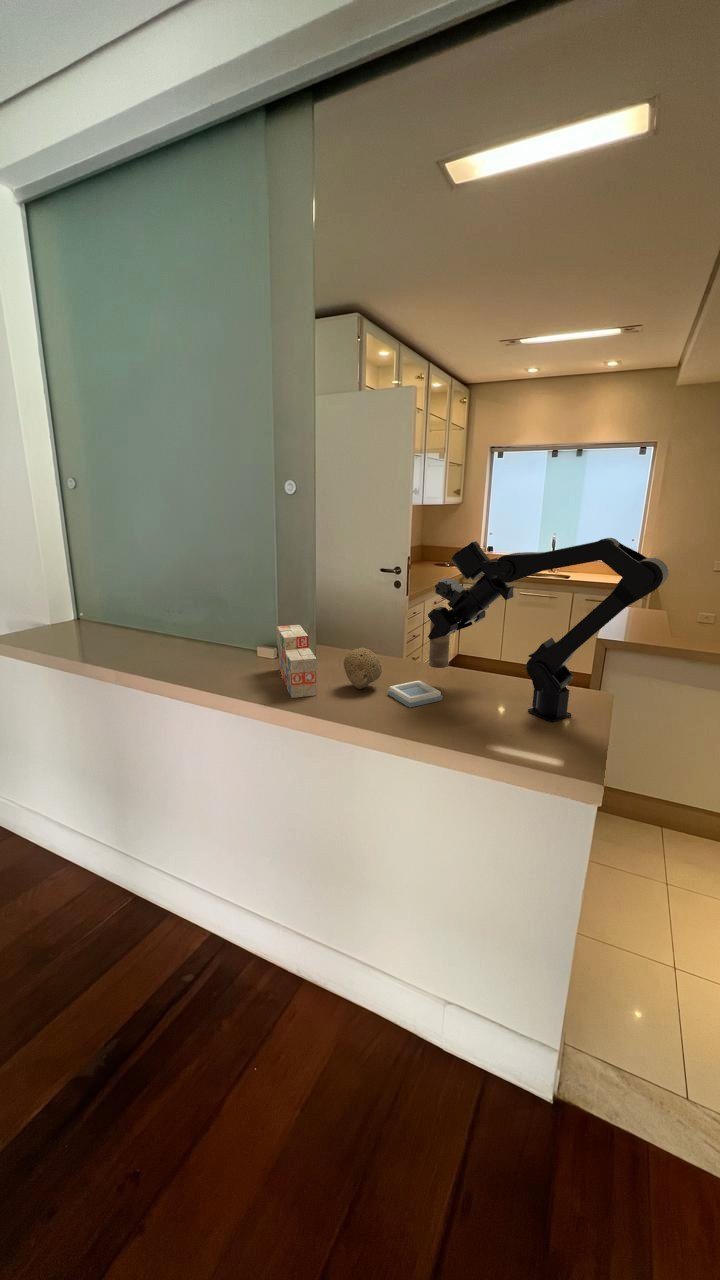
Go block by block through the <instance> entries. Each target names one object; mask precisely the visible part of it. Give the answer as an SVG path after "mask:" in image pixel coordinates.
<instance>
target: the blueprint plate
mask: <svg viewBox="0 0 720 1280" xmlns="http://www.w3.org/2000/svg"><path fill="white" fill-rule="evenodd" d="M441 693H442V692H441V691H440V690H439V689H437V688H435V687H433V686H431V685H429V684H427V683H425V682H424V681H421V680H415V681H409V682H405V683H401V684H395V685H391V686H389V689H388V690H387V696H390V697H392V698H393V699H395V700H396V701H398V702H400V703H402V704H403V705H405V706H406V707H408V708H414V707H418V706H423V705H427V704H432V703H435V702H436V703H437V702H439V701H442V700H443V695H441Z"/></svg>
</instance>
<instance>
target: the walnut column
mask: <svg viewBox="0 0 720 1280" xmlns="http://www.w3.org/2000/svg"><path fill="white" fill-rule="evenodd" d="M429 627H430V628H429V633H430V632H431V630H432V628H433V627H434V624H433V622H432V621H431V620H430V626H429ZM450 635H451V634H450ZM450 635H447V636H442V637H439V638H436V639H432V640H430V639H429V652H428V653H429V655H428V656H429V657H428V658H429V659H428V665H429V666H430V667H431V668H435V669H443V668H444V669H445V668H447V667H449V659H450V658H449V655H450V654H449V652H450V637H451V636H450Z"/></svg>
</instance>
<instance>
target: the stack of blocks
mask: <svg viewBox="0 0 720 1280" xmlns="http://www.w3.org/2000/svg"><path fill="white" fill-rule="evenodd" d="M276 640H277V641H276V642H277V652H278V653H277V654H278V655H277V657H278V658H277V659H278V670H279V669H280V671H281V674H280V676H281V675H282V676H281V679H282V678H283V679H284V681H285V682H284V681H283V682H284V685H285V686H287V687H286V690H287V693H288V694H289V696H290V698H291V699H294V698H303V697H313V696H317V692H318V691H317V690H318V689H317V681H318V680H317V678H318V677H317V670H318V667H317V665H318V663H317V657H316V655H315V654H314V652H313V651H312V650H311V649H310V644H309V642H310V641H309V635H308V634H307V632H305V630H304V628H303V627H302V626H301V624H292V625H291V624H290V625H278V626H276ZM280 671H279V672H280ZM283 679H282V680H283Z"/></svg>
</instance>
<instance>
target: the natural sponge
mask: <svg viewBox="0 0 720 1280" xmlns="http://www.w3.org/2000/svg"><path fill="white" fill-rule="evenodd" d="M343 667H344V672H345V674H346V677H347V679H348V680H349V682H350V683H351V684H352V685H353V686H354V687H355V688H356V689H358V690H361V689H365V688H366V687H368V685H369V684H372V683H374V682H376V681H377V680H379V679H380V677H381V675H382V672H383V668H382V664H381V662H380V659H379V657H378V656H377V654H375V652H373V651H372V650H370V649H368V648H365V647H360V648H354V649H352V650H351V651H349V652H348V653H347V654H346V656H344V660H343Z"/></svg>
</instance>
